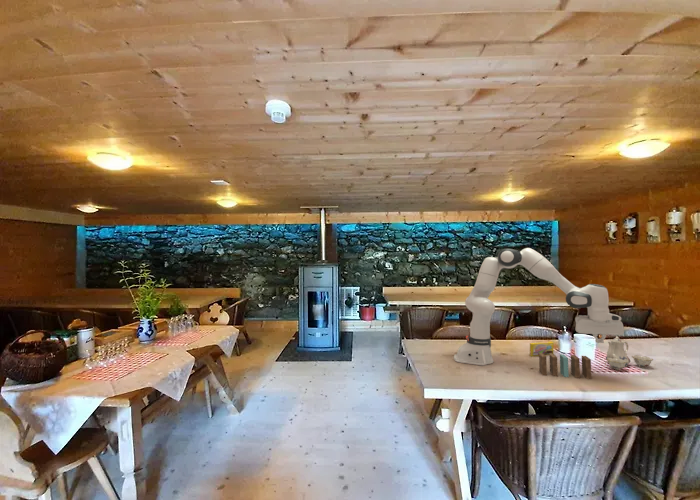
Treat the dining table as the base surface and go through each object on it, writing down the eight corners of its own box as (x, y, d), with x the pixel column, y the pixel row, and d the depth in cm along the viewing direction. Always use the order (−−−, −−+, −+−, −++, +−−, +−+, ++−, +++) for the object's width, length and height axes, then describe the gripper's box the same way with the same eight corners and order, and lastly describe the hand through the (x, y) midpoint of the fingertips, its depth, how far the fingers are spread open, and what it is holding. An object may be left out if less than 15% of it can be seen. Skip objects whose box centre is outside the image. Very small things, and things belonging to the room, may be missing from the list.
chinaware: (620, 377, 169) (623, 346, 168) (589, 363, 185) (591, 335, 184) (657, 370, 177) (659, 341, 176) (623, 358, 193) (626, 331, 192)
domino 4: (586, 378, 163) (586, 359, 163) (582, 374, 169) (581, 355, 169) (591, 379, 162) (590, 359, 163) (586, 375, 168) (585, 355, 168)
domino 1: (542, 375, 169) (542, 356, 169) (539, 371, 175) (539, 352, 175) (546, 375, 168) (546, 356, 168) (543, 371, 174) (543, 353, 174)
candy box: (531, 357, 199) (531, 343, 199) (529, 356, 201) (529, 342, 201) (554, 355, 202) (553, 342, 202) (551, 354, 204) (550, 341, 204)
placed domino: (564, 376, 166) (563, 357, 166) (560, 372, 172) (559, 354, 172) (568, 377, 165) (568, 357, 166) (564, 373, 171) (563, 354, 171)
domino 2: (553, 376, 167) (552, 357, 168) (549, 372, 173) (549, 353, 173) (557, 376, 167) (557, 357, 167) (554, 372, 173) (553, 353, 173)
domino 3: (575, 377, 164) (574, 358, 165) (571, 373, 170) (570, 355, 170) (580, 378, 164) (579, 358, 164) (575, 374, 170) (574, 355, 170)
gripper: (577, 316, 165) (578, 343, 164) (625, 317, 159) (626, 345, 158) (572, 314, 171) (573, 339, 170) (618, 315, 165) (619, 341, 165)
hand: (599, 342), depth 164 cm, fingers closed
